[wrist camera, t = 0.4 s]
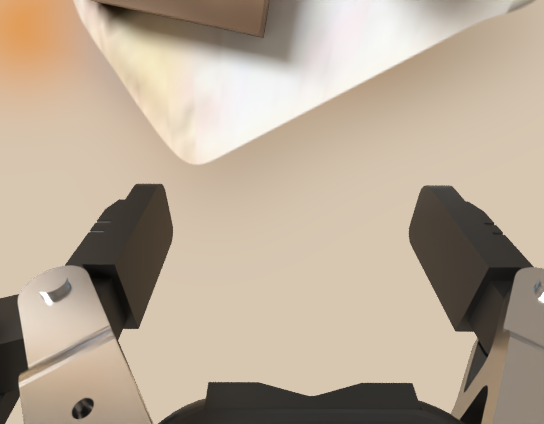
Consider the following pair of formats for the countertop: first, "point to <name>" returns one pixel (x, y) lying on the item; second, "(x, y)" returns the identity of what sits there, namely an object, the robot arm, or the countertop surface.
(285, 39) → the countertop surface
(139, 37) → the countertop surface
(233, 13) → the plinth
